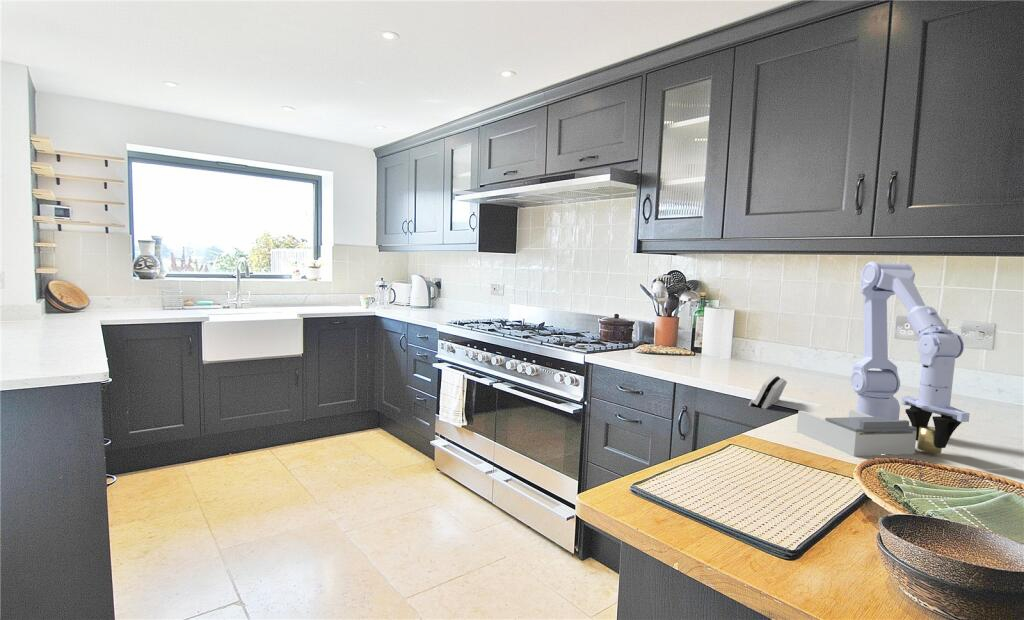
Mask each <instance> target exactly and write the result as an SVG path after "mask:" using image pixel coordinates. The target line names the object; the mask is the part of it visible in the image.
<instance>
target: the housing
mask: <svg viewBox="0 0 1024 620" xmlns="http://www.w3.org/2000/svg"><path fill="white" fill-rule="evenodd" d="M848 417H873V416H870V415H867V414H864V413H861V412H858V411H856V409H855V410H854V409H849V411H848ZM796 424H797V425H796V432H797V433H799V434H801V435H804V436H807V437H808V438H811V439H813V440H815V441H818V442H820V443H822V444H825V445H827V446H829V447H831V448H834V449H836V450H838V451H841V452H842V453H846V454H848V455H850V456H851V457H852V456H853V457H872V455H878V456H882V455H881V454H893V455H892V456H899V455H900V456H902V455H901V454H907V455H915V450H916V442H917V440H916V433H917V431H916V430H914V431H874V433H860V432H855V431H852V430H850V429H847V428H844V427H842V426H839V425H836V424H834V423H831V422H828V421H826V420H825V418H823V417H820V416H817V415H815V414H812V413H810V412H807V411H805V410H798V413H797V423H796Z"/></svg>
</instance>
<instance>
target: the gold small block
mask: <svg viewBox="0 0 1024 620" xmlns="http://www.w3.org/2000/svg"><path fill="white" fill-rule="evenodd" d="M916 446H917V447H916V448H917V449H918V450H920V451H921V452H924V453H925V452H926V453H931V454H941V453H942V449H943V448H937V447H935V426H929V425H928V426H919V435H918V441H917V445H916Z"/></svg>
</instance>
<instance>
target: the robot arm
mask: <svg viewBox="0 0 1024 620" xmlns="http://www.w3.org/2000/svg"><path fill="white" fill-rule="evenodd" d="M915 277H916V273H915V271H914V270H913V268H912V265H910V264H909V263H907V262H876V261H870V262H867V263H866V265H864V267H863V268H862V269H861V270H860V293H861V294H862V303H863V304H862V306H863V307H862V309H863V310H862V313H863V315H862V316H863V319H862V320H863V358H861V359H860V360H859V361H857V362H856V363H854V364H853V365H852V374H851V377H850V385H851V387H852V390H853V391H854V392H855V393H856V394H857V397H856V409H855V411H858V412H861V413H864V414H867V415H870V416H873V417H885V418H888V419H891V420H900V411H901V405H902V406H908V407H909V408H906V409H905V414H906V415H907V417H908V419H909V423H910V425H911V426H913V427H916V428H917V430H916V431H917V433H916V442H918V435H919V426H929V422H930V419H931V417H932V421H933V427H935V447H937V448H942V449H946V446H947V444H948V442H949V440H950V438H951V437H952V435H953V433H954V432H955V430H956V429H958V427H959V426H960V425H962V423H967V422H969V421H970V414H971V413H970V412H967V411H963V410H962V409H958V408H956V407H953V406H951V400H952V392H953V383H954V373H955V363H956V359H957V358H959V357H961V356H962V354H963V353H964V348H965V344H964V341H963V338H962V336H961V335H960V334H958V333H957V332H953V330H951V329H948V327H946V325H945V323H944V322H943V320H942V319H941V317H940V315H939V314H938V311H937V310H936V309H935V308H934V307H932V306H928V305H926V304H925V302H924V300H923V298H922V296H921V294H920V292H919V291H918V288H917V286H916V284H915V283H914V281H915ZM894 295H896V296H897V298H898V299H899V300H900V302H901V303H902V305H904V307H905V308H906V310H907V312H908V314H907V317H906V319H907V322H908V323H909V325H910V327H911V329H912V330H913V331H914V334H915V336H916V337H917V339H918V340H919V341H918V342H917V343H916V344H917V345H916V348H917V351H918V354H919V362H920V363H919V364H921V371H920V381H919V382H920V383H919V393H918V398H917V397H912V396H901V403H900V402H899V400H898V398H896V397H895V396H894V395H895V394H897V393H898V392H899V389H900V388H901V379H900V377H899V374H898V367H897V365H896V364H894V363H893V362H892V361H891V360H890V359H888V357H889V356H888V355H889V353H888V351H889V350H888V346H889V345H888V304H887V303H888V300H889V298H890V297H891V296H894ZM871 369H872V370H871ZM873 369H875V370H873ZM876 369H877V370H876ZM933 414H936V416H935V415H934V416H932V415H933ZM937 415H938V416H937ZM939 415H940V416H939Z"/></svg>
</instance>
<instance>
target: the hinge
mask: <svg viewBox="0 0 1024 620" xmlns="http://www.w3.org/2000/svg"><path fill="white" fill-rule="evenodd" d="M787 384H788V381H787V380H786V379H784V378H781V377H780V376H778V375H775V374H773V375H771V376H770V377H769V378H767V379H766V380H765V381H764V383H763V384H762V386H761V388H760V390H759V392H758V393H757V395H756V396H755V397H754V398H753V399H751V400H750V401H749V403H748V405H747V406H748V407H751V406H752V405H756V406H760V407H761V409H765V410H767V409H768V408H769V407H771V406H772V405H774V404H775V403H776V402H777V401H779V400H780V397H781V396H782V394H783V391H784V389H785V387H786V385H787Z"/></svg>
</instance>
